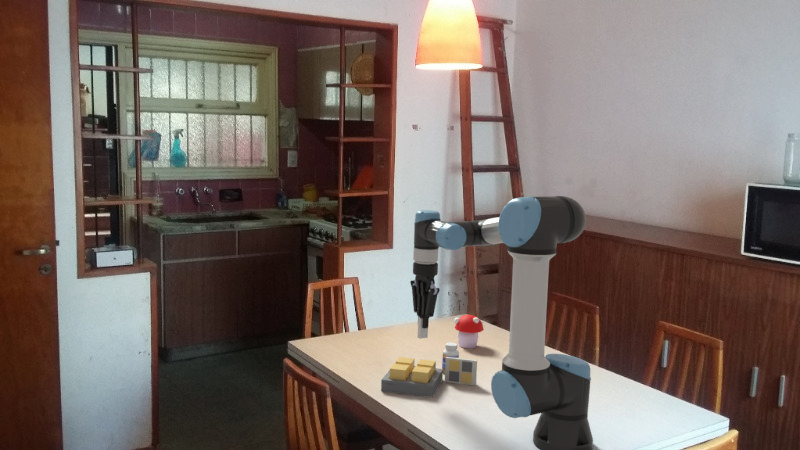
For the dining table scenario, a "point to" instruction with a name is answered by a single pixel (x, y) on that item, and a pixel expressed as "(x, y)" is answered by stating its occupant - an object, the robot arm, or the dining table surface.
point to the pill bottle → (449, 353)
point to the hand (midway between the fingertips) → (422, 337)
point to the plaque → (460, 370)
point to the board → (412, 385)
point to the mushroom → (468, 330)
